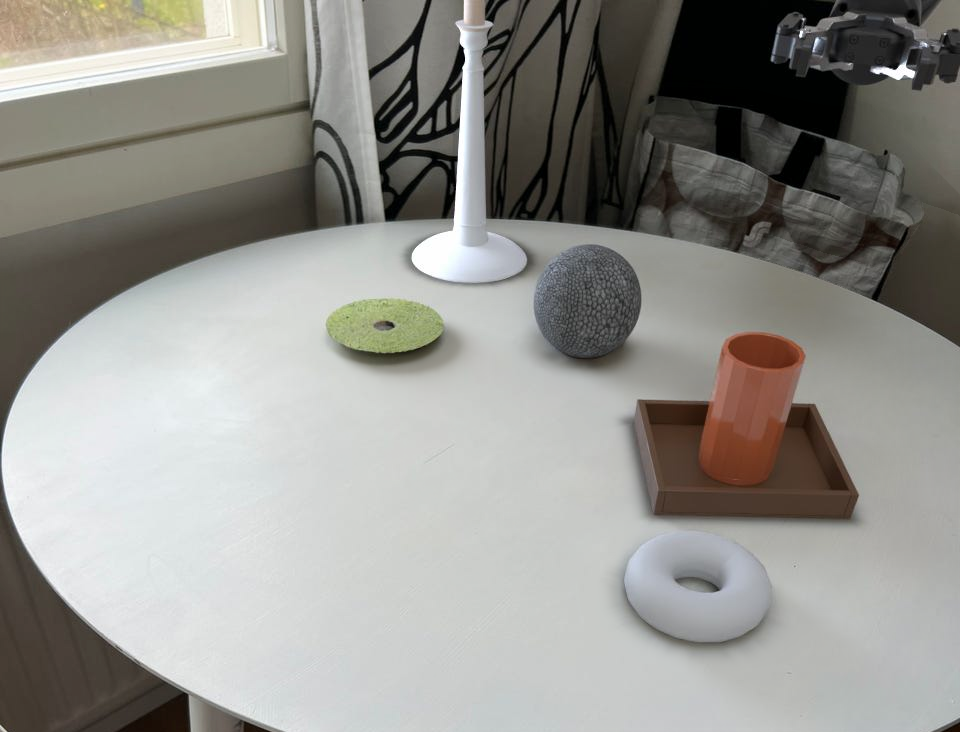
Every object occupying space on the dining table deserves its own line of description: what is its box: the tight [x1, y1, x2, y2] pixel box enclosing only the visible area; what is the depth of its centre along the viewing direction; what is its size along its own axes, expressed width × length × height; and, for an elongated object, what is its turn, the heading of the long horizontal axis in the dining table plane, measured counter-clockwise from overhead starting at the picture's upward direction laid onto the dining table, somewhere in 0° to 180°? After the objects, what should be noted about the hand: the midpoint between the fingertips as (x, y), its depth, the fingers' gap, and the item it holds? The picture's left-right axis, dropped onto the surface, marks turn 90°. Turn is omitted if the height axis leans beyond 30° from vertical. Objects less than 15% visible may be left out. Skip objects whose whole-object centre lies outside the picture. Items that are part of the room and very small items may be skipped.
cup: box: [698, 331, 807, 486], centre depth 74 cm, size 6×6×10 cm
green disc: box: [325, 297, 444, 354], centre depth 91 cm, size 11×11×2 cm
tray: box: [633, 398, 860, 520], centre depth 77 cm, size 15×13×3 cm
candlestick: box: [411, 0, 528, 284], centre depth 95 cm, size 13×13×30 cm
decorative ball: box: [533, 243, 642, 359], centre depth 88 cm, size 10×10×10 cm
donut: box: [623, 530, 773, 643], centre depth 65 cm, size 10×4×10 cm
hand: (861, 68), depth 71 cm, fingers open, 8 cm apart
